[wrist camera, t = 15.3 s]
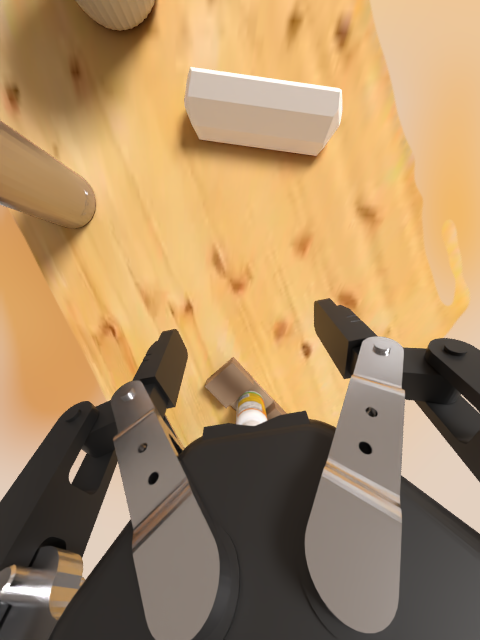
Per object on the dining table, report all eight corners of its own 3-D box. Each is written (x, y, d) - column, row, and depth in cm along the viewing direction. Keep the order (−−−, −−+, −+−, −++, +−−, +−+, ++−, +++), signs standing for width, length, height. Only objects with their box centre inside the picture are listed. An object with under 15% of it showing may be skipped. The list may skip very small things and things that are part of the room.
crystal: (352, 70, 28) (185, 46, 28) (357, 97, 26) (173, 71, 26) (328, 134, 35) (194, 115, 35) (329, 160, 33) (185, 140, 32)
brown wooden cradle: (266, 439, 42) (268, 450, 39) (207, 379, 40) (204, 386, 37) (292, 419, 41) (295, 429, 38) (233, 356, 39) (232, 362, 36)
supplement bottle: (259, 417, 40) (264, 458, 31) (233, 411, 40) (231, 449, 30) (267, 393, 39) (275, 427, 30) (241, 386, 39) (240, 418, 30)
